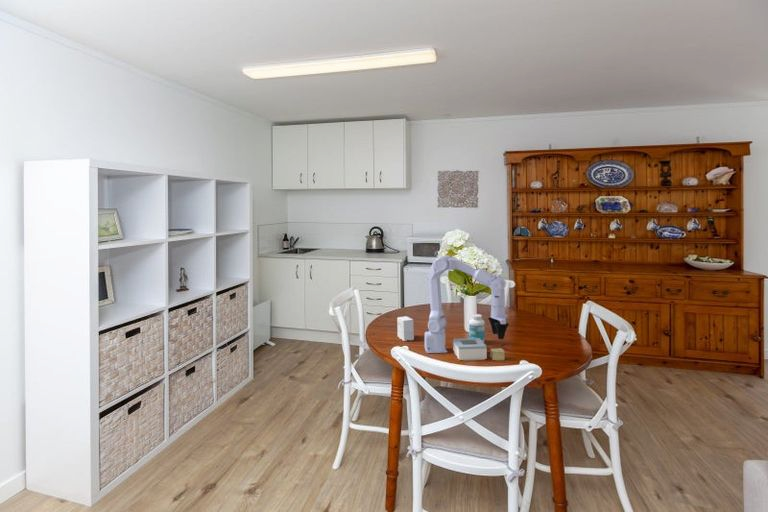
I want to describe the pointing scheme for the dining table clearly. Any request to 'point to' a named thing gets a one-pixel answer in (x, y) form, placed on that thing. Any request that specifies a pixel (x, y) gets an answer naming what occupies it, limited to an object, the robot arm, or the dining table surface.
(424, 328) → the dining table surface
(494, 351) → the tan green block
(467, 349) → the money box
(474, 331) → the pill bottle
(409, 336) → the small box
